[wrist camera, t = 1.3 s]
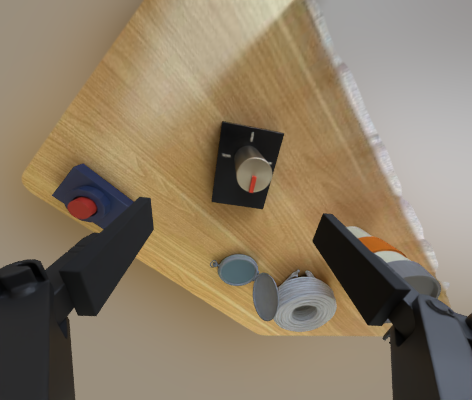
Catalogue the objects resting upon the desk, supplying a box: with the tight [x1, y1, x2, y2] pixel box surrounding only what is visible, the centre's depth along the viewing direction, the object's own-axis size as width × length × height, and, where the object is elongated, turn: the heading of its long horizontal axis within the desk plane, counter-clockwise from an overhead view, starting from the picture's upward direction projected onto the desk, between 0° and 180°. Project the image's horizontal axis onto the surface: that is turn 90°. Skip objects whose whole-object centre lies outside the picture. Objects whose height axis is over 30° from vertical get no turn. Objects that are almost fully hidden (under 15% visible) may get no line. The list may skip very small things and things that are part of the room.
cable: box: [273, 270, 337, 332], centre depth 47 cm, size 18×18×6 cm
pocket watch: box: [210, 254, 279, 321], centre depth 40 cm, size 10×11×15 cm
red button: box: [68, 197, 97, 219], centre depth 31 cm, size 4×4×2 cm
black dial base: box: [212, 121, 284, 209], centre depth 32 cm, size 14×10×3 cm
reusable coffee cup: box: [346, 226, 441, 323], centre depth 35 cm, size 13×13×15 cm
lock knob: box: [234, 146, 272, 193], centre depth 25 cm, size 4×4×9 cm
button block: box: [52, 164, 134, 229], centre depth 33 cm, size 11×8×4 cm
